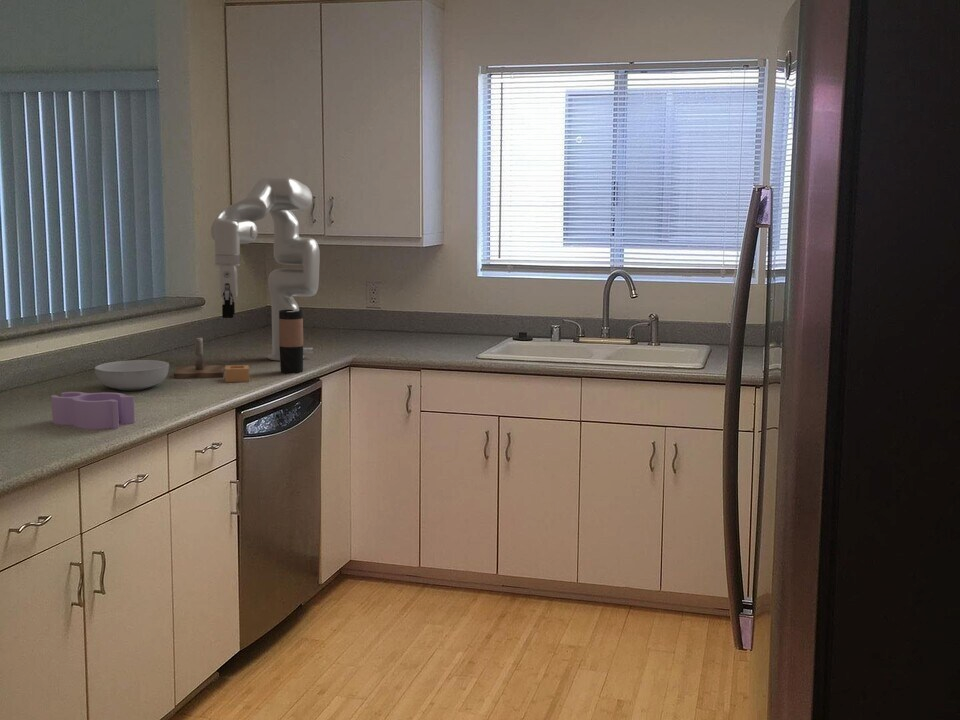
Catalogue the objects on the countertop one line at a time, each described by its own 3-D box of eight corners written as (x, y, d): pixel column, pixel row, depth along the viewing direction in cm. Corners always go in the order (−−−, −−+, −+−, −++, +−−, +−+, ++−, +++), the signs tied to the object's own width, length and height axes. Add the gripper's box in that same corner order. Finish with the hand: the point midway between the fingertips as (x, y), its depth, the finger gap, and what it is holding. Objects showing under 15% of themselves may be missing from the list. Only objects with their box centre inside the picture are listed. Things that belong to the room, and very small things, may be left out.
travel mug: (283, 374, 337) (282, 312, 334) (276, 370, 344) (275, 310, 341) (306, 372, 340) (305, 311, 337) (299, 369, 347) (298, 309, 344)
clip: (41, 426, 260) (39, 398, 259) (74, 416, 271) (72, 389, 270) (111, 431, 254) (109, 403, 253) (141, 421, 266) (140, 394, 265)
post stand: (224, 369, 345) (223, 334, 343) (223, 377, 330) (222, 341, 329) (177, 370, 342) (175, 335, 340) (173, 378, 327) (172, 341, 326)
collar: (249, 377, 330) (248, 365, 330) (249, 381, 323) (248, 368, 323) (226, 378, 329) (225, 365, 328) (225, 382, 322) (225, 369, 321)
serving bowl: (111, 381, 322) (110, 359, 321) (179, 382, 321) (178, 360, 320) (83, 393, 301) (82, 370, 300) (156, 395, 301) (155, 371, 300)
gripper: (239, 262, 315) (240, 319, 318) (241, 259, 332) (242, 313, 334) (213, 262, 314) (214, 319, 316) (216, 259, 331) (217, 313, 333)
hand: (228, 316), depth 325 cm, fingers open, 9 cm apart
